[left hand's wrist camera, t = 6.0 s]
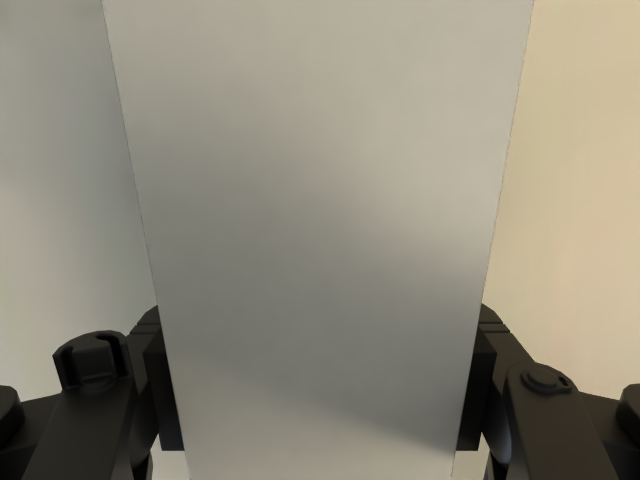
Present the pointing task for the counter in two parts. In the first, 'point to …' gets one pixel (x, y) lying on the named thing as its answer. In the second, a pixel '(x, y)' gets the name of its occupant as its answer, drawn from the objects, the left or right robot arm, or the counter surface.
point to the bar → (318, 220)
